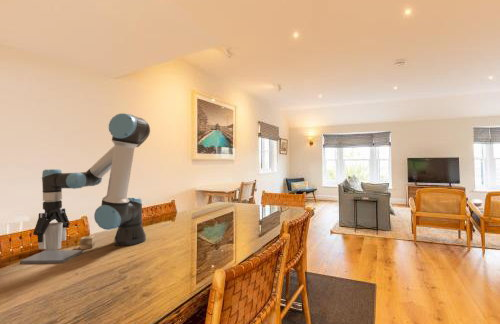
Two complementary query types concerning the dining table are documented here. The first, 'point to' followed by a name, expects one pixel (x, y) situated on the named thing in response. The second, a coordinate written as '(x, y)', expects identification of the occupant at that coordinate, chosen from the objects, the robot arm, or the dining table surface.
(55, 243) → the cup
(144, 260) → the dining table surface
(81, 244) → the oak cube
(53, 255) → the slate board
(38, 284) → the dining table surface
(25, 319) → the dining table surface
